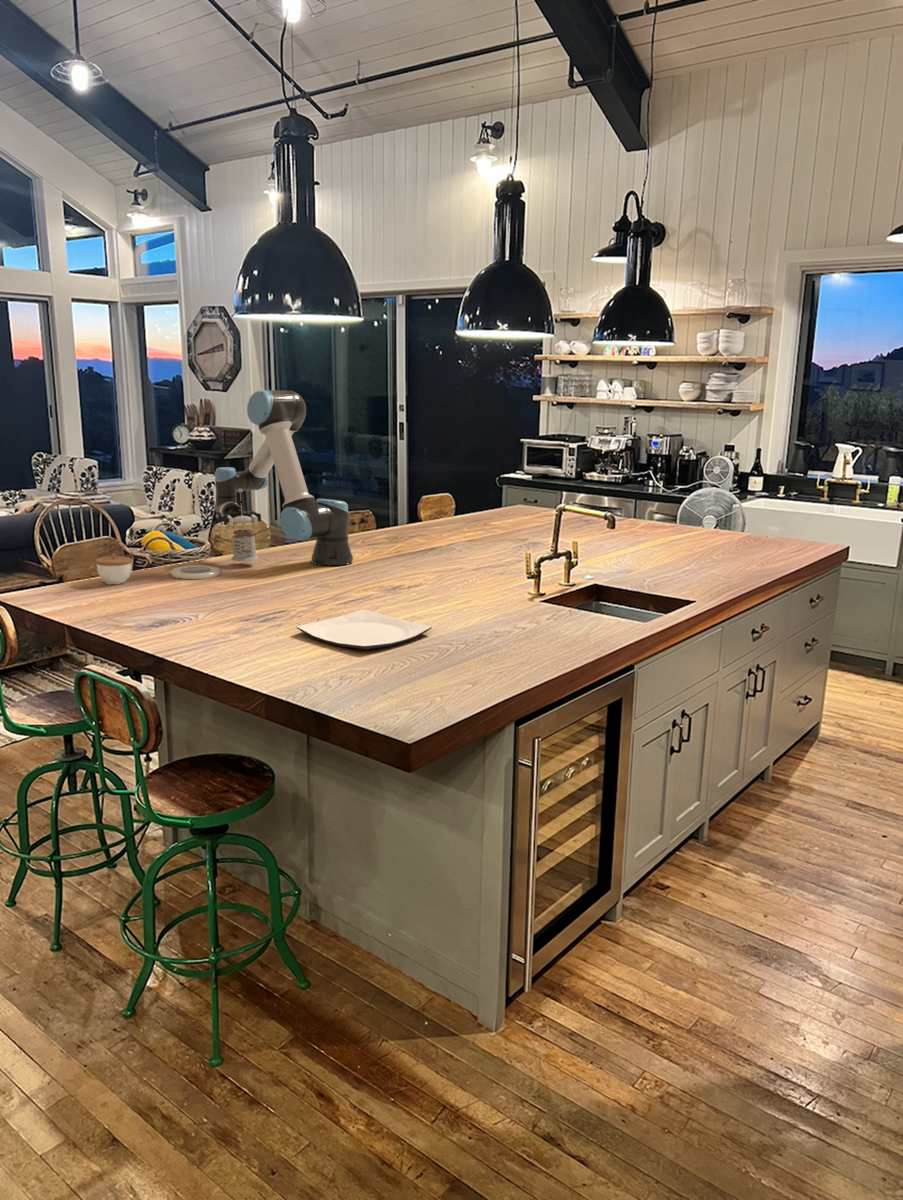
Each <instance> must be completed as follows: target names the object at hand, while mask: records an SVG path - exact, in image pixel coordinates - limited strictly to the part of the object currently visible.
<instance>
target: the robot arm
mask: <svg viewBox="0 0 903 1200" xmlns="http://www.w3.org/2000/svg"><path fill="white" fill-rule="evenodd" d="M246 407H247V408H246V410H247V411H246V412H247V413H246V414H247V417H248V419H249V421H250V423H251V422H252V424H254V425H257V426H258V429H259V432H260V433H261V434H262V435H264V436H265V439H264V441H263V442H262V444H261V446H260V447H259V449H258V451H257V452H256V454H255V455H254V457H253V458H252V461H251V462H250V464H249V466H247V468H246V470H242V471H236V468H234V467H229V466H228V467H227V466H226V467H217V468H216V469H215V474H214V475H215V476H214V477H215V478H214V482H215V493H216V494H215V504H214V511H215V519H216V520H217V521H218V524H221V523H223V525H224V526H228V525H230V526H229V527H231V526H232V527H233V524H234V525H236V524H238V523H233V518H235V517H238V516H241V515H243V516H248V517H251V518H252V519H253V520H254V521H253V522H251V523H252V524H253V525H255V526H258V522H262V513H258V512H256V511H253V510H250V511H249V510H248V512H246V511H245V510H243V508H242V513H241V505H239V504H238V501H237V494H238V492H237V490H238V489H242V490H243V492H247V491H259V490H263V489H265V488H266V487H267V486H268V484H269V476H268V474H269V473H270V471H271V469H272V468H273V466H274V467H275V472H276V473H277V478H278V480H279V484H280V488H281V490H282V495H283V497H284V502H283V503H282V505H281V507H282V509H283V510H282V511H280V518H279V524H280V527H281V529H282V531H283V532H284V534H285V535H286V536H287V537H289V538H290V539H292V540H297V541H299V540H308V539H311V538H315V544H314V548H313V552H312V554H311V563H312V562H313V563H312V564H314V563H316V564H315V565H317V564H320V565H319V566H324V565H341V566H343V565H342V564H347V563H351V562H352V561H353V562H354V556H353V554H352V551H351V547H350V544H349V543H350V542H349V513H350V512H349V505H348V503H347V502H345V501H344V500H337V499H329V498H328V499H326V498H317V499H315V497H314V495H312V494H310V493H309V490H308V487H307V484H306V481H305V476H304V474H303V471H302V467H301V463H300V460H299V458H298V457H299V456H298V454H297V450H296V446H295V443H294V441H293V437H292V436H293V434H294V433H295V432H299V430H300V429H301V427H302V425H303V423H304V421H305V419H306V416H307V405H306V402H305V401H304V399H303V397H302V396H301V395H300V394H299V393H297V392H295V391H293V390H288V389H285V390H284V389H283V390H279V389H277V390H274V389H273V390H270V389H263V390H257V391H255V392H254V393H252V395H251V396H250V397H249V399H248V402H247V406H246ZM351 564H352V563H351Z"/></svg>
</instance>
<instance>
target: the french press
mask: <svg viewBox="0 0 903 1200" xmlns="http://www.w3.org/2000/svg"><path fill="white" fill-rule="evenodd" d="M243 492H244V491H243V490H242V489H238V490H237V493H239V495H240V496H239V497H240V500H242V493H243ZM240 507H241V513H242V509H243V507H242V504H240ZM253 521H254V520H253V519H252V518H251V517H248V516H243V515H241V516H238V517H235V518H233V523H237V524H241V525H242V526H241V527H244V524H249V523H252V522H253ZM230 527H231V529H233V528H235V524H233V526H230V525H229V524H227V525H226V527H225V530H224V532H226V533H224V538H225V540H226V542H227V543H229V544H230V545H231V546H232V550H233V551H232V553H233V556H232V557H231V558H230V560H231V561H235V562H249V561H255V560H258V559H259V555H257V552H256V539H255V534H253V533H254V530H252V529H239V530H237V529H236V530H233V531H232V533H233V534H234V535H232V540H231V539H230V537H229V534H228V530H229V528H230ZM226 536H227V537H226ZM246 544H247V545H246Z"/></svg>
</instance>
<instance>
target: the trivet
mask: <svg viewBox="0 0 903 1200" xmlns="http://www.w3.org/2000/svg"><path fill="white" fill-rule="evenodd" d="M171 575H172V576H173V577H172V576H171ZM218 575H219V576H220V575H221V569H220V567H217V566H215V565H214V566H213V565H204V564H203V565H202V564H201V565H200V564H199V565H197V564H195V565H183V566H178V567H174V568H172V569H170V576H171V577H172V578H174V577H178V578H183V579H182V580H186V579H198V580H206V579H207V580H209V579H214V578H217V577H219V576H218ZM216 576H217V577H216ZM213 577H214V578H213ZM178 578H177V579H178ZM208 578H209V579H208Z"/></svg>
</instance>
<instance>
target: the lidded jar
mask: <svg viewBox="0 0 903 1200" xmlns="http://www.w3.org/2000/svg"><path fill="white" fill-rule="evenodd" d="M132 561H133V559H132V558H131V557H130V556H125V555H116V553H111V555H109V556H102V557H98V558H97V559H96V560H95V562H96V568H97V573H98V575H99V578H100V579H101V580H102V581H103V582H104V583H105V584H106V585H111V584H115V585H121V584H120V583H123V582H125V583H126V581H128V579H129V578H130V576H131V573H132V567H133V566H132V565H133V564H132ZM123 584H124V583H123Z"/></svg>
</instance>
